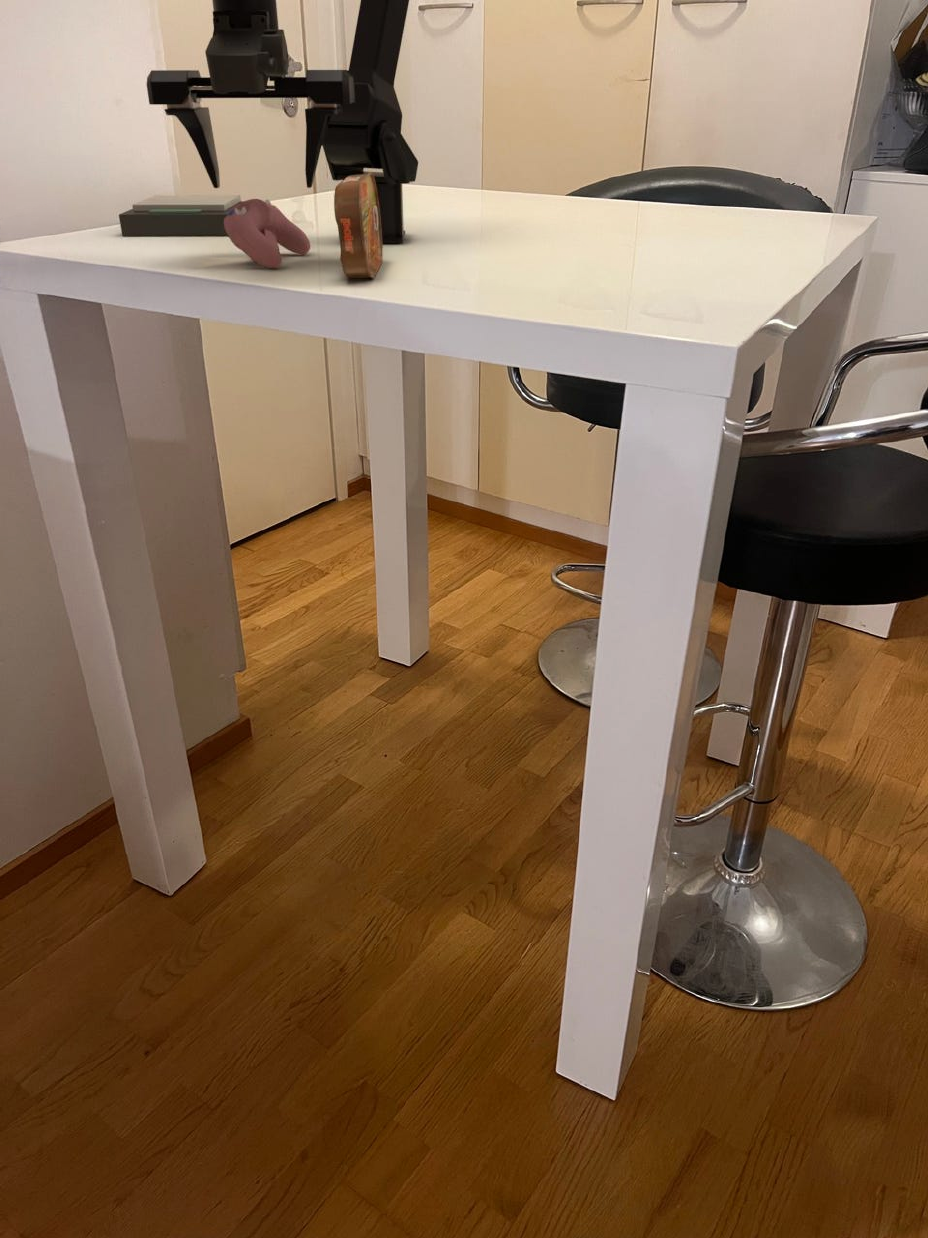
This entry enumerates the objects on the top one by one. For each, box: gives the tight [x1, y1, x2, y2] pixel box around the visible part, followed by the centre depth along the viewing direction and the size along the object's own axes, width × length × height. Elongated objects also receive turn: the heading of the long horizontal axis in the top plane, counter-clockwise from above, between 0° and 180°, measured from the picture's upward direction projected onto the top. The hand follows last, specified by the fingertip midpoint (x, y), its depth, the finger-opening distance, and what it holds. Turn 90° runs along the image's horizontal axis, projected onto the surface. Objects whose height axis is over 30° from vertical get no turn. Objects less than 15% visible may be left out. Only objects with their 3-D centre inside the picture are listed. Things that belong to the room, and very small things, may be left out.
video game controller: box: [224, 198, 311, 269], centre depth 95 cm, size 10×5×7 cm, turn 168°
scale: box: [118, 194, 245, 237], centre depth 116 cm, size 13×13×3 cm
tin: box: [333, 171, 384, 279], centre depth 89 cm, size 15×3×8 cm, turn 179°
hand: (263, 187), depth 93 cm, fingers open, 9 cm apart
